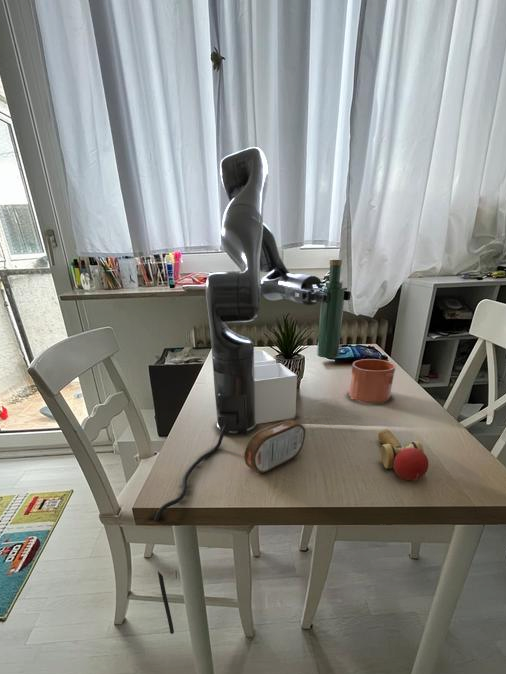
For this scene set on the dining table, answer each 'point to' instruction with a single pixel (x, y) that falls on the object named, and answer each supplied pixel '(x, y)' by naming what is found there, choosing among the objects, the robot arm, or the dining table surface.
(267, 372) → the storage container
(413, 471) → the kendama
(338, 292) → the bottle
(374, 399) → the plant pot
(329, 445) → the dining table surface
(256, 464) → the tin
